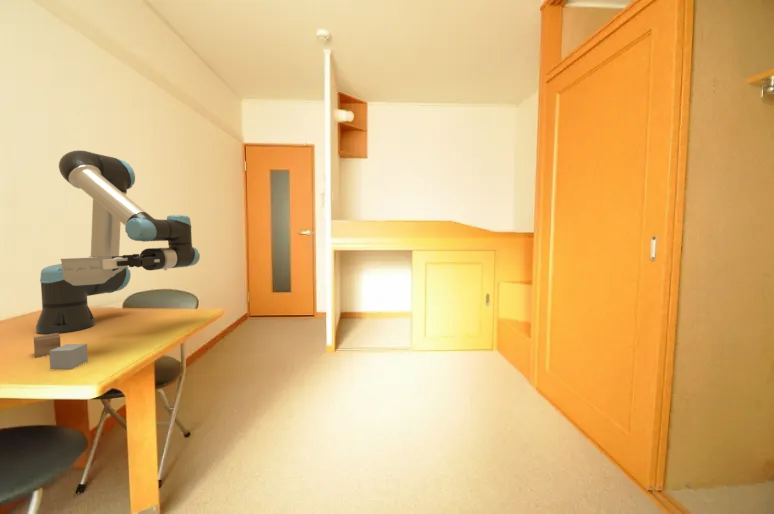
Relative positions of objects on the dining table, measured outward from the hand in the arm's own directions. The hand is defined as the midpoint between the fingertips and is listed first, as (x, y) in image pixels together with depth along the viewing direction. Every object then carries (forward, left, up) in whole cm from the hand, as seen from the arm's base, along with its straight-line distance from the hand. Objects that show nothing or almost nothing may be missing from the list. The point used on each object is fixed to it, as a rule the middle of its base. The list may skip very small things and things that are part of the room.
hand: (87, 263), depth 92 cm
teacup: (+1, +1, -6) cm, 6 cm away
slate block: (+4, -8, -26) cm, 28 cm away
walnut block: (-12, -3, -26) cm, 29 cm away
